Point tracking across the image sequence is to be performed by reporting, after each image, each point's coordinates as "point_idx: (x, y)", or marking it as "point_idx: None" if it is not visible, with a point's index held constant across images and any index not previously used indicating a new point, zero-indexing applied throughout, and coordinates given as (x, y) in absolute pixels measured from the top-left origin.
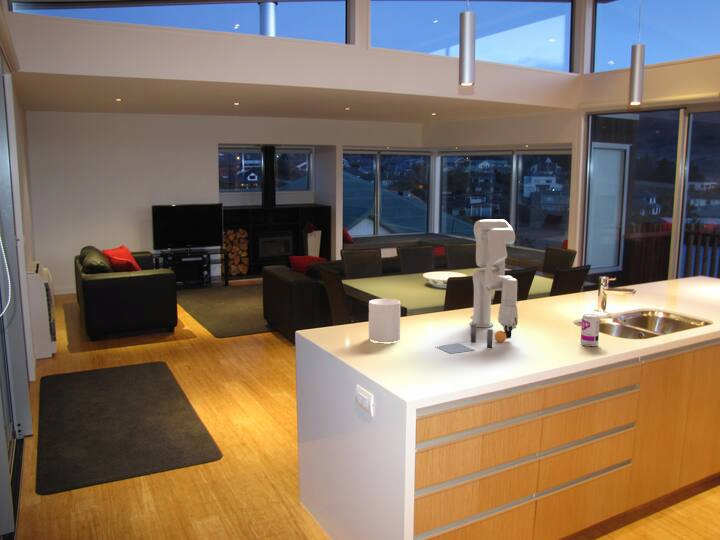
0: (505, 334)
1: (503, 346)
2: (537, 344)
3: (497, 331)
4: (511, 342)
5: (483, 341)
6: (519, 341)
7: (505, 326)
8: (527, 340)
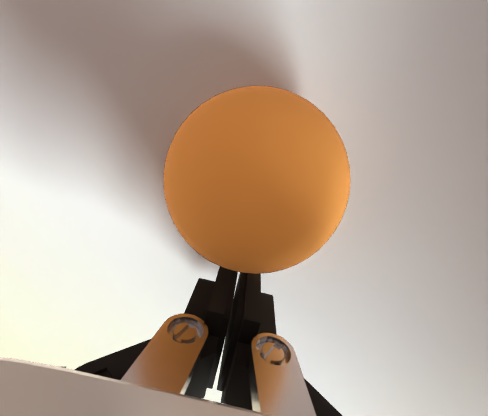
0: (170, 213)
1: (119, 48)
2: (9, 355)
3: (303, 160)
4: (181, 256)
5: (429, 45)
6: None
7: (255, 406)
8: None
